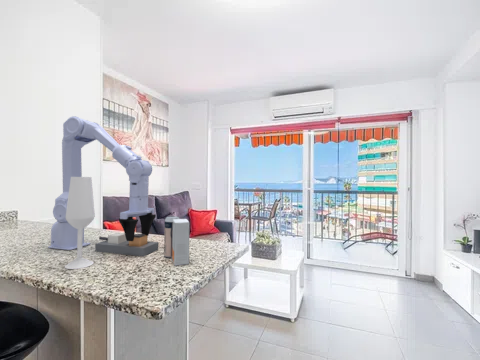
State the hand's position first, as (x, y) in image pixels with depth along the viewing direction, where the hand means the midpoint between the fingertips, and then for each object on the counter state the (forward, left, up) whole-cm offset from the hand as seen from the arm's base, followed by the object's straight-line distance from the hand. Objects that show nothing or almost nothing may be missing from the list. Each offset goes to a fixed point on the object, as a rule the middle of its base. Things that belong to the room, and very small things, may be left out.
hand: (137, 238), depth 80 cm
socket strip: (-4, 0, -4) cm, 6 cm away
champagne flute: (-7, -15, -5) cm, 17 cm away
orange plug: (0, 0, -4) cm, 4 cm away
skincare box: (+18, -5, -5) cm, 19 cm away
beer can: (+13, -1, -5) cm, 14 cm away
